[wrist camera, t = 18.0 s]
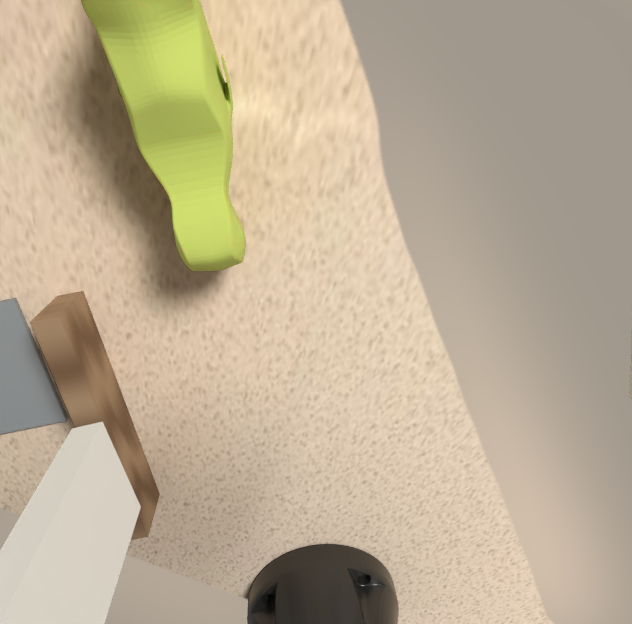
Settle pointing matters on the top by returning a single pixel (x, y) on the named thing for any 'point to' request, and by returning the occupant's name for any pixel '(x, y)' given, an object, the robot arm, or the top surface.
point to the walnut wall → (94, 390)
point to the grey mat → (23, 376)
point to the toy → (177, 117)
